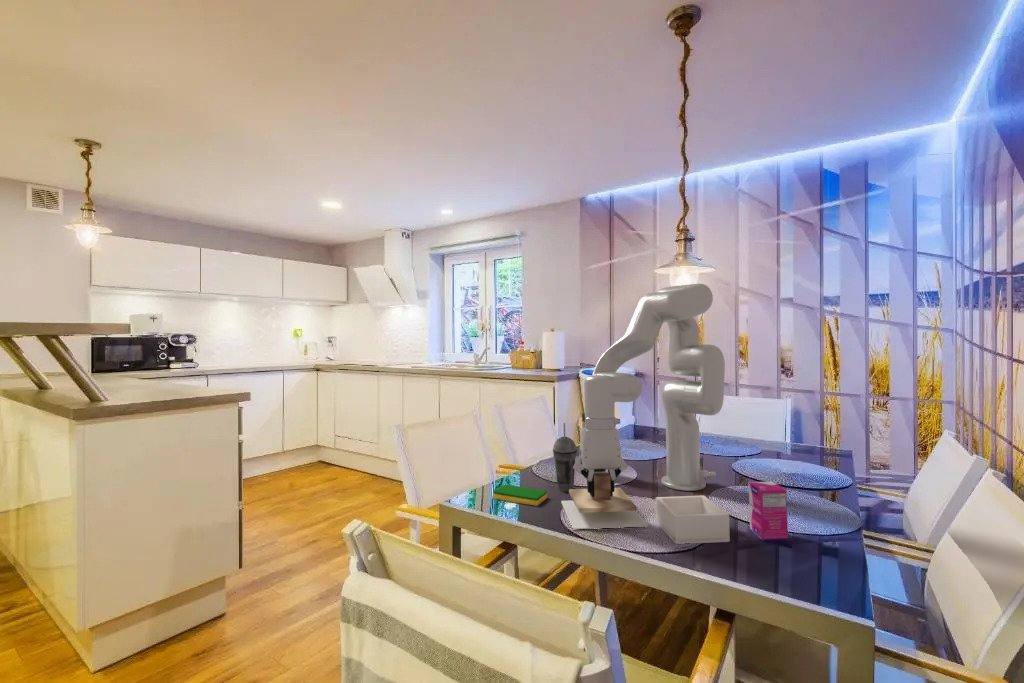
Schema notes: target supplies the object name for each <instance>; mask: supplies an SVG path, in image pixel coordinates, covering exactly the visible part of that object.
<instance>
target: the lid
mask: <svg viewBox="0 0 1024 683" xmlns="http://www.w3.org/2000/svg"><path fill="white" fill-rule="evenodd" d="M593 481H594V497H591V495H590V493H588V491H587V488H573V489H569V491H568V494H569V495H570V498H571V499H572V500H573V501H574V503H575V505H576V507H577V509H578V511H579V513H587V512H616V511H637V512H638V510H637V508H638V507H637V505H636V504H635V503H634V502H633V501H632V499H631V498H630V497H629V496H628V494H626V493H625V491H624V490H623V489H622V488H621V487H614V492H613V496H611V485H610V475H609V474H608V471H606V472H594V473H593Z"/></svg>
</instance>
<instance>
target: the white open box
mask: <svg viewBox="0 0 1024 683" xmlns="http://www.w3.org/2000/svg"><path fill="white" fill-rule="evenodd" d="M655 523H656V524H658V525H659V527H660V528H661V529H662V530H663V531H664V532H665V534H666V535H667V536H668V537H669V538H670V539H671V540H672V541H673V543H674V544H675V543H676V544H675V545H685V543H690V544H705V543H706V544H708V543H709V544H710V543H729V542H730V540H731V538H730V514H729V513H728V512H727V511H725V510H724V509H722V508H721V507H720V506H718V505H717V504H716V503H715V502H713V501H712V500H710V499H709V498H708V497H706V496H705V495H681V496H680V495H679V496H678V495H676V496H657V497H655Z"/></svg>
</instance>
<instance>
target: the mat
mask: <svg viewBox="0 0 1024 683" xmlns="http://www.w3.org/2000/svg"><path fill="white" fill-rule="evenodd" d="M560 503H561V505H562V507H563V510H564V512H565V514H567V515H566V517H567V516H568V517H567V519H569V520H568V522H569V521H570V522H569V524H570V523H571V524H570V526H571V525H572V527H571V529H572V528H573V529H594V528H619V527H645V528H649V524H648V523H647V522H646V521H645V520H644V518H643V517H642V516H641V515H640V514H639V512H638V510H637V511H616V512H587V513H579V511H578V509H577V507H576V505H575V503H574V501H573V499H572V500H571V499H570V500H561V502H560ZM573 529H572V530H573Z"/></svg>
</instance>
